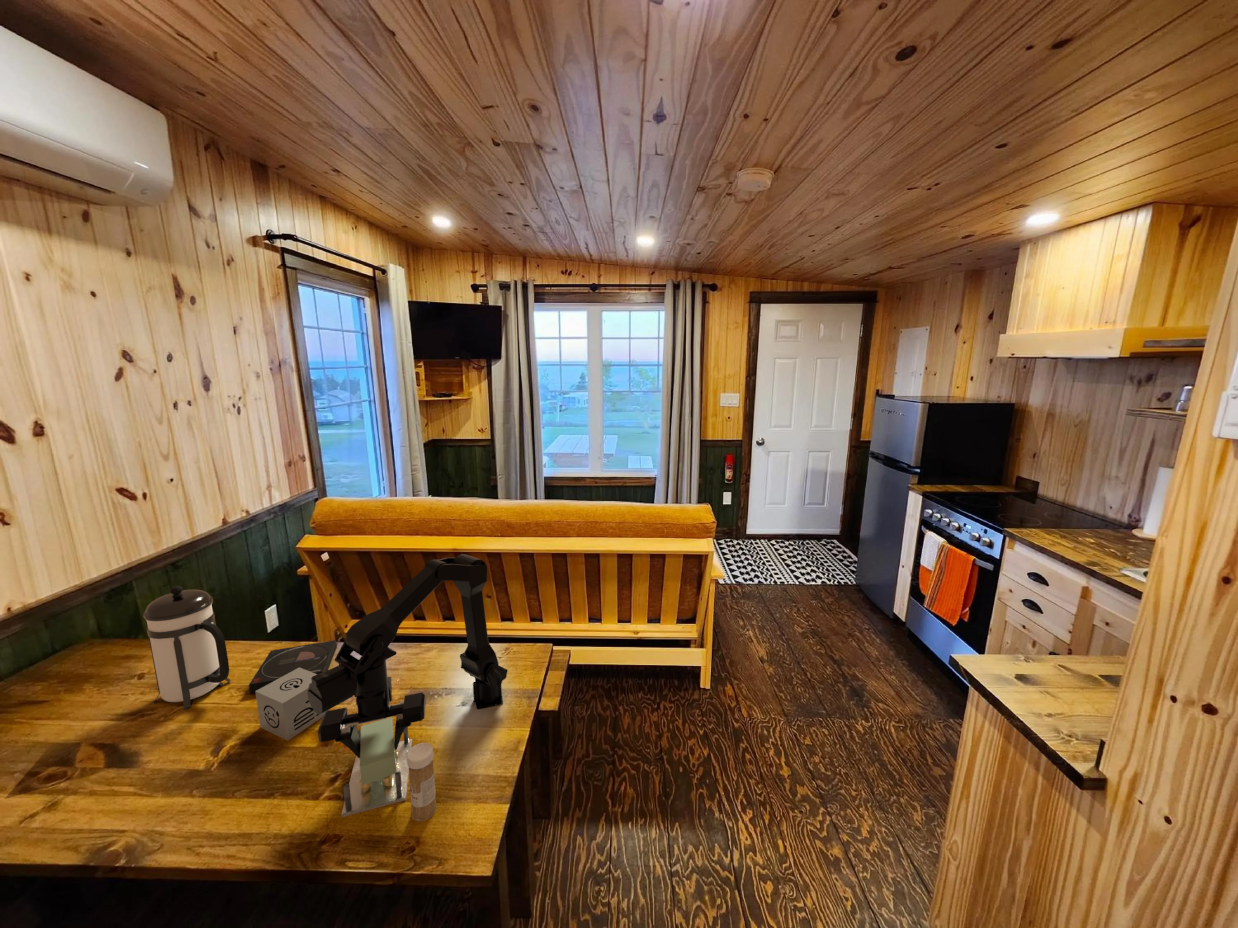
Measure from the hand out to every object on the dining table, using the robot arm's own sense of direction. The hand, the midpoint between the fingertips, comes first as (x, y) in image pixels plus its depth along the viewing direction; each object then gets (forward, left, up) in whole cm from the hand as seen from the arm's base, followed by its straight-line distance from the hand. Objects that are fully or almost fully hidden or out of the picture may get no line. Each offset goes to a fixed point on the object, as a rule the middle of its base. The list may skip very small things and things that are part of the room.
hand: (378, 751), depth 96 cm
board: (0, 0, -1) cm, 1 cm away
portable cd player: (+27, -47, -6) cm, 55 cm away
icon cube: (+21, -24, -6) cm, 33 cm away
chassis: (0, 0, -6) cm, 6 cm away
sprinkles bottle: (-9, +12, -6) cm, 16 cm away
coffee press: (+48, -44, -6) cm, 66 cm away
